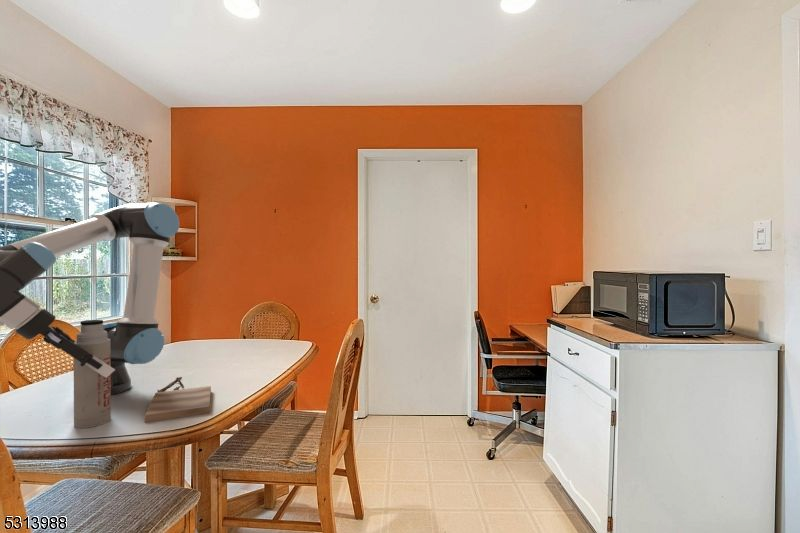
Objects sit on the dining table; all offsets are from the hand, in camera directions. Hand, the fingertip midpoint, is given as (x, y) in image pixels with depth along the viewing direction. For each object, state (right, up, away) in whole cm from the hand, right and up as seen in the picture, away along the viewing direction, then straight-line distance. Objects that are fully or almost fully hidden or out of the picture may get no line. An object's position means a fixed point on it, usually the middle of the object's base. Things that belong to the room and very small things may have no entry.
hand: (107, 370), depth 109 cm
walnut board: (+15, -14, +10) cm, 23 cm away
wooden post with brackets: (+4, -14, +23) cm, 27 cm away
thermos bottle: (-2, -14, -2) cm, 14 cm away
